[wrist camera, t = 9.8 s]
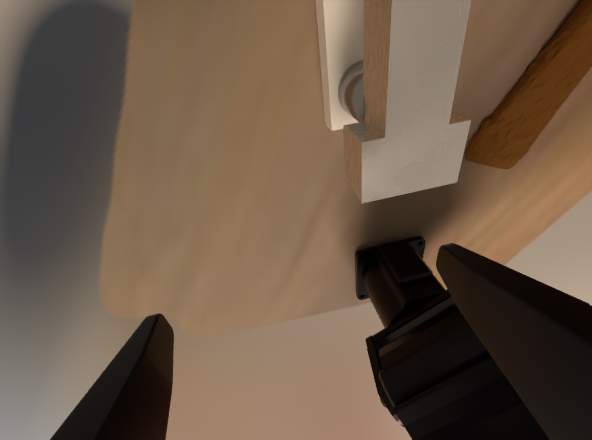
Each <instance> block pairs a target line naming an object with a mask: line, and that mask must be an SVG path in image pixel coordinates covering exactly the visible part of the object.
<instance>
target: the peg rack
mask: <svg viewBox="0 0 592 440" xmlns="http://www.w3.org/2000/svg"><path fill="white" fill-rule="evenodd" d="M315 1H316V13H317V26H318V38H319V51H320V63H321V76H322V89H323V101H324V114H325V124H326V125H327V126H328V127H329V128H330V129H331V131H334V130H339V129H343V125H348V124H353V123H358V122H362V121H363V56H364V0H315Z"/></svg>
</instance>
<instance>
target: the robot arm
mask: <svg viewBox="0 0 592 440" xmlns="http://www.w3.org/2000/svg"><path fill="white" fill-rule="evenodd" d="M424 248H425V240H424V238H423V237H421V236H419V237H415V238H410V239H406V240H402V241H398V242H393V243H389V244H385V245H381V246H377V247H372V248H368V249H364V250H360V251H358V252H357V253H356V255H355V262H356V295H357V298H358V299H359V300H363V299H367V298H370V299H371V301H372V303H373V305H374V307H375V309H376V312H377V314H378V315H379V318H380V319H381V322H382V324H383V326H384V327H385V329H383V330H381V331H380V332H378V333H377V334H375V335H373V336H370V337H368V338H366V344H367V348H368V349H367V350H368V354H369V358H370V363H371V367H372V371H373V375H374V379H375V383H376V387H377V391H378V394H379V396H380V400H381V403H382V404H383V406H384V407H386V408H388V410H389V412H390V413H391V415H392V416H393V417H394V419H395V420H396V421H397V422H398V423H399V424H400V425H401V426H403V427H405V428H406V430H407V432H408V433H409V435H410V437H411V438H412V440H592V306H590V304H588V303H586V302H584V301H582V300H580V299H577V298H575V297H573V296H570V295H568V294H566V293H564V292H562V291H560V290H557V289H555V288H553V287H551V286H548V285H546V284H544V283H542V282H539V281H537V280H535V279H533V278H530V277H528V276H526V275H524V274H522V273H519V272H517V271H515V270H513V269H510V268H508V267H506V266H504V265H502V264H499V263H497V262H495V261H493V260H490V259H488V258H486V257H484V256H481V255H479V254H477V253H475V252H473V251H470V250H468V249H466V248H464V247H461V246H459V245H457V244H454V243H450V244H446V245H442V246H441V247H440V248H439V252H438V256H437V261H436V267H437V270H438V272H439V274H440V276H441V278H442V279H443V281H444V283H445V285H446V287H447V288H448V289H447V290H445V289H444V287H443V286H442V285H441V284H440V282H439V281H438V280H437V279H436V277H435V276H434V275H433V272H432V271H431V270H430V268H429V267H428V266H427V265H426V263H425V262H424V261H423V254H424ZM173 344H174V334H173V329H172V327H171V326H170V324H169V323H168V321H167V320H166V319H165V317H164V316H163V315H162V314H155V315H151V316H148V317H146V318H145V319H144V321H143V322H142V323H141V324H140V326H139V327H138V328H137V329H136V331H135V332H134V333H133V334H132V336H131V337H130V338H129V340H128V341H127V342H126V343H125V345H124V346H123V347H122V348H121V350H120V351H119V352H118V354H117V355H116V356H115V358H114V359H113V360H112V361H111V362H110V364H109V365H108V366H107V368H106V369H105V370H104V371H103V373H102V374H101V375H100V377H99V378H98V379H97V380H96V382H95V383H94V384H93V385H92V387H91V388H90V389H89V391H88V392H87V393H86V394H85V396H84V397H83V398H82V399H81V401H80V402H79V403H78V405H77V406H76V407H75V408H74V410H73V411H72V412H71V413H70V415H69V416H68V417H67V419H66V420H65V421H64V423H63V424H62V425H61V426H60V428H59V429H58V430H57V431H56V433H55V434H54V435H53V436H52V438H51V439H50V440H165V439H166V432H167V424H168V417H169V408H170V401H171V394H172V384H173V348H174V345H173Z"/></svg>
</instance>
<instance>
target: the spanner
mask: <svg viewBox="0 0 592 440" xmlns="http://www.w3.org/2000/svg"><path fill="white" fill-rule="evenodd" d="M471 1H472V0H364V56H363V121H362V122H358V123H353V124H348V125H343V133H344V159H345V181H346V182H347V184H348V185H349V187H350V188H351V189H352V191H353V192H354V194H355V195H356V196H357V198H358V199H359V200H360V202H361V203H367V202H371V201H376V200H380V199H385V198H389V197H394V196H398V195H403V194H407V193H412V192H416V191H421V190H425V189H430V188H434V187H439V186H443V185H448V184H452V183H457V180H458V176H459V172H460V167H461V163H462V158H463V154H464V150H465V145H466V141H467V136H468V132H469V128H470V123H471V120H470V119H468V118H465V117H463V116H460V115H458V114H455V113H453V112H451V111H452V105H453V100H454V94H455V89H456V83H457V78H458V72H459V67H460V61H461V56H462V50H463V45H464V39H465V34H466V29H467V23H468V18H469V12H470V7H471Z"/></svg>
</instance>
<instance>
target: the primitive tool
mask: <svg viewBox="0 0 592 440" xmlns="http://www.w3.org/2000/svg"><path fill="white" fill-rule="evenodd" d="M591 66H592V0H582V1H581V2H580V4H579V5H578V6H577V7H576V9H575V10H574V11H573V12H572V14H571V15H570V17H569V18H568V19H567V20H566V22H565V23H564V24H563V26H562V27H561V29H560V30H559V31H558V32H557V34H556V35H555V36H554V37H553V39H552V40H551V41H550V43H549V44H548V45H547V46H546V47H545V49H543V50H542V51H541V52H540V53H539V55H538V56H537V58H536V60H535V61H534V62H533V63H532V64H530V65H529V67H528V69H527V71H526V73H525V74H524V76H523V77H521V79H520V80H519V82H518V83H517V85H516V86H515V87H514V88H513V89H512V90H511V92H510V93H509V94H508V95H507V96H506V98H505V99H504V101H503V102H502V103H501V104H500V105H499V106H498V108H497V109H496V110H495V111H494V113H493V114H492V115H491V116H490V117H489V118H488V119H485V120H484V121H483V122H482V123H481V127H480V129H479V131H478V132H477V133H475V134H474V135H473V137H472V138H471V139H470V141H469V145H468V147H467V149H466V151H465V158H466V159H467V160H468V161H474V162H476V163H478V164H483V165H488V166H492V167H497V168H502V169H509V168H511V167H512V166H514V165H515V164H516V163H517V162H518V160H519V159H521V158H522V157H523V156H524V155H525V154H526V153H527V152H528V150H529V148H530V146H531V145H532V144H533V142H534V141H535V140H536V138H537V137H538V136H539V134H540V133H541V132H542V130H543V129H544V128H545V126H546V125H547V124H548V122H549V121H550V120H551V118H552V117H553V116H554V114H555V113H556V111H557V110H558V109H559V107H560V106H561V105H562V104H563V102H564V101H565V100H566V99H567V97H568V96H569V95H570V93H571V92H572V91H573V90H574V88H575V87H576V86H577V85H578V84H579V82H580V81H581V80H582V78H583V77H584V76H585V75H586V73H587V72H588V71H589V69H590V68H591Z"/></svg>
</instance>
